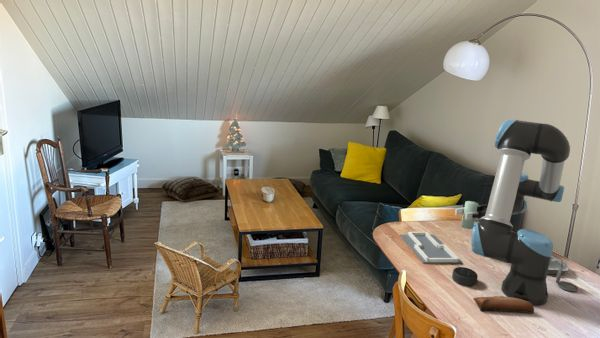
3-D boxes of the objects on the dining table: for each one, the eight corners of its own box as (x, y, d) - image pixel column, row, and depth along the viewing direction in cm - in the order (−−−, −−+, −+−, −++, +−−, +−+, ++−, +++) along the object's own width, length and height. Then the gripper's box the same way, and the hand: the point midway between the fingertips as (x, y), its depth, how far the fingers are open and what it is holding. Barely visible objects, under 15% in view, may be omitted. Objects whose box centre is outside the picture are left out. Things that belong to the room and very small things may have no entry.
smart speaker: (460, 288, 162) (462, 278, 161) (447, 276, 170) (448, 266, 169) (481, 286, 164) (483, 276, 163) (466, 274, 172) (468, 265, 171)
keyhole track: (462, 263, 181) (463, 259, 181) (423, 263, 179) (423, 259, 178) (433, 235, 208) (434, 231, 207) (399, 235, 206) (400, 231, 205)
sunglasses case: (521, 300, 155) (529, 290, 151) (528, 319, 150) (536, 310, 146) (471, 298, 155) (477, 288, 150) (476, 316, 150) (483, 307, 145)
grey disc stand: (581, 293, 163) (587, 268, 161) (558, 291, 163) (564, 267, 161) (568, 282, 171) (574, 258, 169) (547, 280, 171) (552, 257, 169)
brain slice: (560, 262, 189) (561, 255, 188) (570, 280, 173) (572, 273, 173) (511, 253, 195) (512, 247, 194) (516, 270, 179) (518, 263, 178)
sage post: (475, 229, 189) (480, 205, 186) (464, 228, 188) (468, 204, 185) (469, 224, 193) (474, 201, 191) (459, 224, 193) (463, 200, 190)
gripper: (514, 223, 190) (476, 230, 180) (480, 209, 206) (444, 215, 195) (517, 207, 188) (479, 213, 178) (483, 194, 204) (446, 199, 193)
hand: (461, 214), depth 187 cm, fingers closed on sage post, 5 cm apart
